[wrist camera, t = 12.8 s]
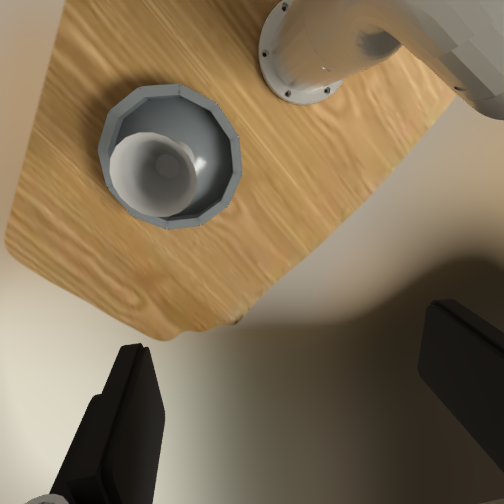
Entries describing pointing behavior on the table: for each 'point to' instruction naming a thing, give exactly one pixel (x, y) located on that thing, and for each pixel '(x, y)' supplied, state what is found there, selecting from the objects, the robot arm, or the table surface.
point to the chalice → (154, 174)
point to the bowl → (187, 131)
